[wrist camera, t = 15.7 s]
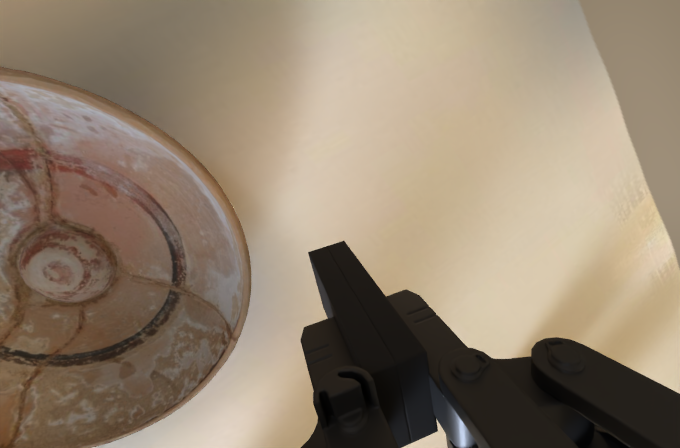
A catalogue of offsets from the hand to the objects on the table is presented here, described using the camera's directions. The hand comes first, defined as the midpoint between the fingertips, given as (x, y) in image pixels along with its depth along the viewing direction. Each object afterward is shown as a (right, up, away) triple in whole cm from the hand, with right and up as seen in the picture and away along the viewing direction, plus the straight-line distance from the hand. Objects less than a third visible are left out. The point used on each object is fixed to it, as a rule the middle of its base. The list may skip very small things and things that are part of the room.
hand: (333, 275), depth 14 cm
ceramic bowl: (-18, 0, +9) cm, 20 cm away
